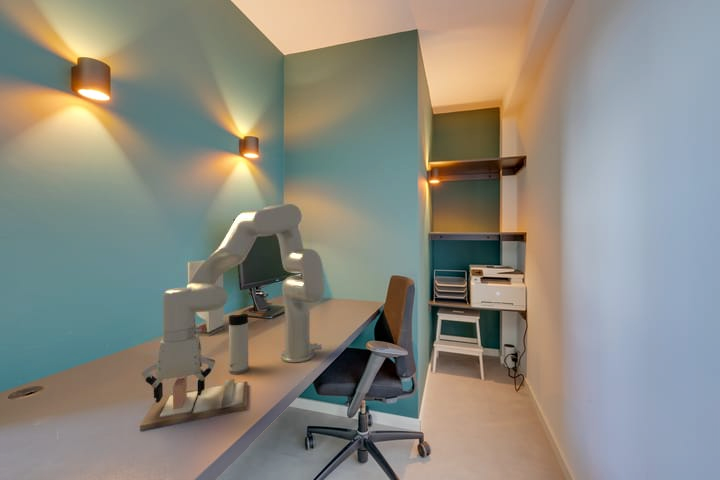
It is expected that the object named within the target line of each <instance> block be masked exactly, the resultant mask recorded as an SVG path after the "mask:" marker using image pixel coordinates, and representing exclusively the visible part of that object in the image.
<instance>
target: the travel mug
mask: <svg viewBox="0 0 720 480" xmlns="http://www.w3.org/2000/svg"><path fill="white" fill-rule="evenodd" d="M228 363H229V364H228V371H229V373H230V374H231V375H232V374H233V375H238V374H239V375H240V374H244V373H246V372H247V371H248V370H249V314H248V313H240V314H230V315H228Z"/></svg>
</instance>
